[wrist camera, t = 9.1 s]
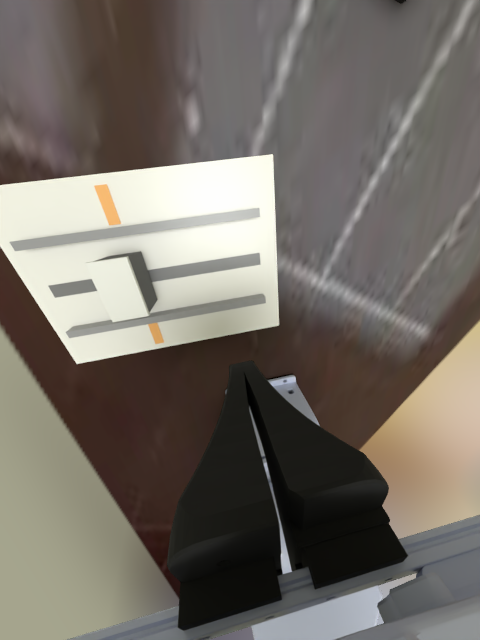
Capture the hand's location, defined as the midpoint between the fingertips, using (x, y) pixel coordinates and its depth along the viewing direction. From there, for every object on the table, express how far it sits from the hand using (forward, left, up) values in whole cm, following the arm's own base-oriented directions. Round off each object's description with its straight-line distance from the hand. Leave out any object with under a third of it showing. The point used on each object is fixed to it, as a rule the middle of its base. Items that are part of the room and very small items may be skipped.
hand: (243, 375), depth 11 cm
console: (+5, -5, -10) cm, 12 cm away
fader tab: (+7, -5, -8) cm, 12 cm away
